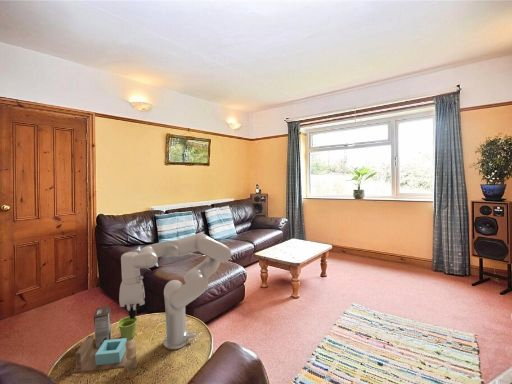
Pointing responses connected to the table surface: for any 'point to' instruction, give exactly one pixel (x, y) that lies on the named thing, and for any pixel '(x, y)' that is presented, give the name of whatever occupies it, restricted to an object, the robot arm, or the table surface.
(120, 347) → the hole block
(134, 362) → the dowel
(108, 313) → the coffee box
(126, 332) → the plant pot
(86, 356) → the backstop board
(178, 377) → the table surface
